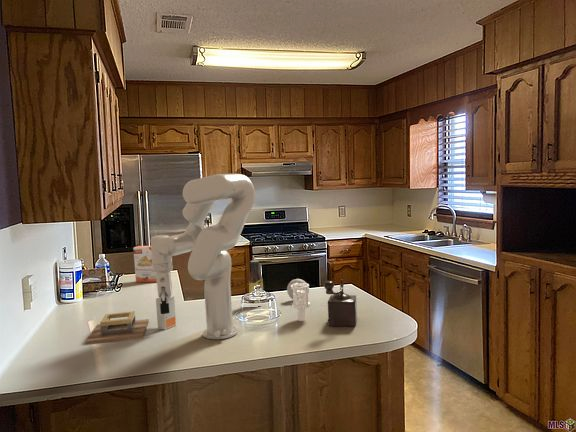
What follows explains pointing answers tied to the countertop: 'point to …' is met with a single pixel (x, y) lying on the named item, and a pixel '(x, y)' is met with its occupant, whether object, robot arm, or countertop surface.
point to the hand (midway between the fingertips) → (165, 310)
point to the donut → (289, 290)
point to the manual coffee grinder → (341, 307)
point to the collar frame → (118, 323)
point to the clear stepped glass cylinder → (300, 299)
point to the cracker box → (144, 264)
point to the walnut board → (136, 333)
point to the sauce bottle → (255, 276)
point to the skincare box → (169, 318)
